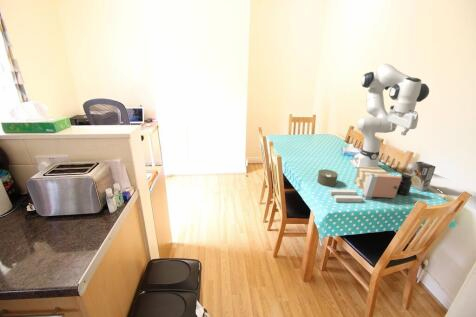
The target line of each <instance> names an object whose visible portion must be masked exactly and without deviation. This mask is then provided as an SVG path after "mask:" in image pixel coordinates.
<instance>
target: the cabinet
mask: <svg viewBox="0 0 476 317" xmlns="http://www.w3.org/2000/svg"><path fill="white" fill-rule="evenodd" d="M369 174H375V175H391V176H393V174H391V173H390V172H388V171H386V170H385V169H383V168H382V167H380V166H379V167H358V168H357V172H356V176H355V180H354V185H356V186H357V188H358V189H359V190H361V191H362V192H363V193H364V189H365V186H366V183H367V180H368V176H369ZM363 193H362V194H361V195H362V196H361V197H362V198H363V199H364V200H372V199H373V197H366V196H365V195H364V194H363Z"/></svg>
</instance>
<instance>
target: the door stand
mask: <svg viewBox="0 0 476 317" xmlns="http://www.w3.org/2000/svg"><path fill="white" fill-rule="evenodd" d="M357 193H358V192H357V191H356V190H355V189H334V188H333V189H329V191H328V194H329V195H330V197H331V196H333V200H334V202H335V203H362V202H363V199H364V198H363V197H362V196H361V195H357Z"/></svg>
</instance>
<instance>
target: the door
mask: <svg viewBox="0 0 476 317" xmlns="http://www.w3.org/2000/svg"><path fill="white" fill-rule="evenodd" d="M391 175H392V174H391ZM391 175H375V174H369V176H368V180H367V183H366V186H365V189H364V192H363V193H362V194H364V195H365V196H366V197H372V198H373V197H374V198H386V199H387V198H390V199H395V198H396V195H397V190H398V187H399V185H400V182H401V179H402V178H401V176H400V175H392V176H391Z"/></svg>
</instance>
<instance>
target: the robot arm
mask: <svg viewBox="0 0 476 317" xmlns="http://www.w3.org/2000/svg"><path fill="white" fill-rule="evenodd" d="M361 86H362V88H365V89H366V88H367V89H368V90H367V92H366V112H367V113H368V114H369V115H370V116H364V117H360V118H359V119H358V121H357V124H356V125H357V126H356V127H357V129H358V131H360V132H361V133H362V135H363V145H362V148H361V149H360V152H359V153H356V154H355V155H354V156H353V158H352V159H350V160H349V162H350V163H351V164H352V165H353V167H354V168H357V169H358V167H380V166H379V162H380V157H379V156H380V149H381V146H382V140H381V139H380V138H379V137H377V136H376V134H377V133H379V134H384V133H385V134H386V133H393V132H395V131H396V129H397V127H398V126H400V127H402V128H403V131H401V132H400V134H401V136H406V135H407V133H408V132H409V131H410V130H414V129H415V130H416V128H417V126H418V122H419V113H418V112H417V111H415V110H416V106H417V103H420V102H423V100H425V99H426V98H427V97H428V96H429V94H430V88H429V86H428V85H427V84H426V83H422V79H420V78H419V77H411V76H410V75H407V74H405V73H403V72H402V71H400V70H398V69H397V68H395V67H394V66H393V65H391V64H388V63H382V64H380V65H379V66H378V67H377V69H376V70H375V71H369V72H367V73H364V74H363V75H362V77H361ZM384 90H386V91H388V90H389V93H388V96H389V97H390V99H391V100H393V101H396V104H392V105H390V106H389V111H388V112H387V110H386V107H385V99H384Z"/></svg>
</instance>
